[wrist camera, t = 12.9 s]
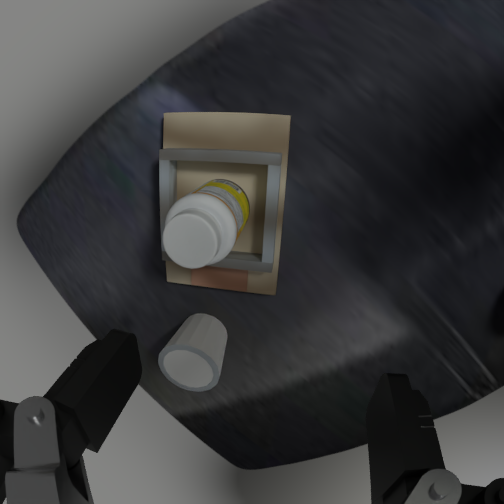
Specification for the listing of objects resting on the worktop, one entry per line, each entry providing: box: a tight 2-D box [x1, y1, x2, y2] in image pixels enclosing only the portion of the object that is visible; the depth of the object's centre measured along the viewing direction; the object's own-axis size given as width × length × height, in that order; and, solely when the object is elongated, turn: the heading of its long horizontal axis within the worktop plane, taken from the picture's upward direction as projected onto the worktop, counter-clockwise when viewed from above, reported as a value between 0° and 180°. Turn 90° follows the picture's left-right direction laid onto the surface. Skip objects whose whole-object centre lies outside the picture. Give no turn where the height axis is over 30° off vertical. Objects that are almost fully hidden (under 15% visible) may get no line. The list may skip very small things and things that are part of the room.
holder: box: [159, 112, 291, 295], centre depth 30 cm, size 18×12×3 cm, turn 177°
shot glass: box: [158, 314, 228, 392], centre depth 35 cm, size 7×7×7 cm
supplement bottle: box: [163, 179, 250, 269], centre depth 26 cm, size 6×6×10 cm
